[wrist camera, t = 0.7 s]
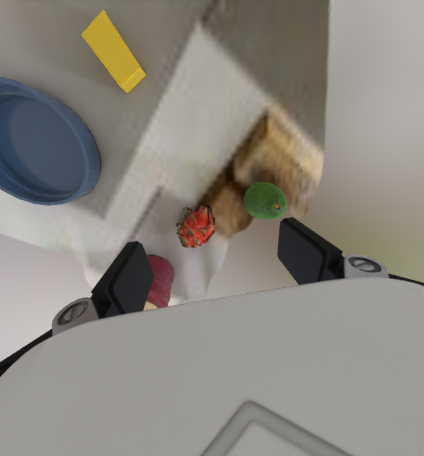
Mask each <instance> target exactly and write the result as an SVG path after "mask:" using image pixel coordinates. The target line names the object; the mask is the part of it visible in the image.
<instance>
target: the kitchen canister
mask: <svg viewBox="0 0 424 456" xmlns="http://www.w3.org/2000/svg"><path fill="white" fill-rule="evenodd" d="M147 258H148V261H149V263H150V266H151V268H152V271H153V273H154V280H153V283H152V286H151V289H150V292H149V295H148V298H147V301H146V304H145V307H144V310H143V311H145V310H151V309H157V308H163V307H168V302H169V300H170V292H171V286H172V283H173V279H174V274H173V269H172V266H171V265H170V264H169V263H168V262H167V261H166V260H164V259H163V258H160V257H157V256H152V255H147Z"/></svg>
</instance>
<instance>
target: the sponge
mask: <svg viewBox="0 0 424 456" xmlns="http://www.w3.org/2000/svg"><path fill="white" fill-rule="evenodd" d="M82 36H83V37H84V39H85V40H86V42H87V43H88V44H89V46H90V47H91V48H92V50H93V51H94V52H95V54H96V55H97V56H98V58H99V59H100V60H101V62H102V63H103V65H104V66H105V67H106V69H107V70H108V71H109V73H110V74H111V75H112V77H113V78H114V79H115V81H116V82H117V83H118V85H119V86H120V87H121V88H122V89H123V90H124V91H125V92H127V93H129V92H130V91H131V90H132V89H133V88H134V87H135V86H136V85H137V84H138V83H139V82H140V81H141V80H142V79H143V78H144V77H145V76H146V74H145V73H144V71H143V70H142V68H141V67H140V65H139V63H138V62H137V60H136V59H135V57H134V56H133V54H132V53H131V51H130V50H129V48H128V47H127V45H126V44H125V42H124V41H123V39H122V38H121V36H120V35H119V33H118V31H117V30H116V28H115V27H114V25H113V24H112V22H111V21H110V19H109V18H108V16H107V15H106V13H105V12H104V10H102V11H101V12H100V13H99V15H98V16H97V17H96V18H95V19H94V20H93V22H92V23H91V24H90V25H89V26H88V27H87V28H86V30H85V31H84V32H83V33H82Z"/></svg>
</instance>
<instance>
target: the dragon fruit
mask: <svg viewBox="0 0 424 456" xmlns="http://www.w3.org/2000/svg"><path fill="white" fill-rule="evenodd" d="M207 205H208V211H207ZM207 205H205V206H199V208H198V209H197V210H198V211H197V210H196V211H197V212H196V213H193V212H192V209H190V208H187V207H186V208H184V209H183V210H188V211H189V214H190V215H186V216H185V220H184V219H180V222H179V223H177V225H176V226H177V227H178V225H179V224H180V225H181V228H179V229H177V230H178V232H177V234H179V239H180V242H181V244H182V246H184V247H192V248H197V246H201V245H202V244H203V243H207V242H209V240H210V238H211V236H212V235H213V234H214V225H215V217H214V218H213V215H212V209H211V207H209V204H207Z"/></svg>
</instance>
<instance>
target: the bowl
mask: <svg viewBox="0 0 424 456" xmlns="http://www.w3.org/2000/svg"><path fill="white" fill-rule="evenodd" d="M100 169H101V165H100V156H99V152H98V149H97V146H96V144H95V141H94V139H93V137H92V135H91V134H90V132H89V131H88V129H87V127H86V126H85V124H84V123H83V122H82V121H81V120H80V119H79V118H78V117H77V115H76V114H75V113H74V112H73V111H72V110H71V109H69V108H68V107H67V106H65V105H64V104H63V103H62V102H60V101H59V100H58V99H56V98H54V97H52V96H50V95H48V94H46V93H44V92H42V91H40V90H38V89H35V88H33V87H30V86H27V85H25V84H22V83H20V82H17V81H15V80H11V79H6V78H2V77H0V189H1V190H3V191H4V192H6V193H8V194H10V195H12V196H14V197H16V198H18V199H21V200H24V201H27V202H30V203H34V204H40V205H48V206H50V205H60V204H64V203H67V202H69V201H72V200H74V199H77V198H79V197H82V196H84V195H86V194H87V193H89V192H90V191H91V190H92V189H93V188H94V187H95V185H96V183H97V181H98V179H99V174H100Z"/></svg>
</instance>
